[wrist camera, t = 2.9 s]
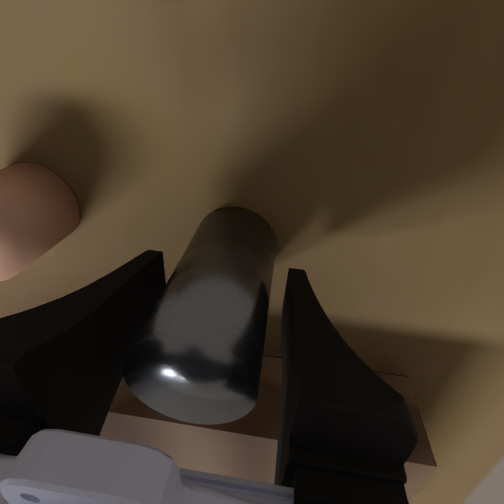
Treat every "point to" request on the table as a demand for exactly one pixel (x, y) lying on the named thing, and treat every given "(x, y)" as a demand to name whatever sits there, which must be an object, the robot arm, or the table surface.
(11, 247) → the pinkish tan rounded piece
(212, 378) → the dark metallic cylinder
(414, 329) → the table surface
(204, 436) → the hole block
